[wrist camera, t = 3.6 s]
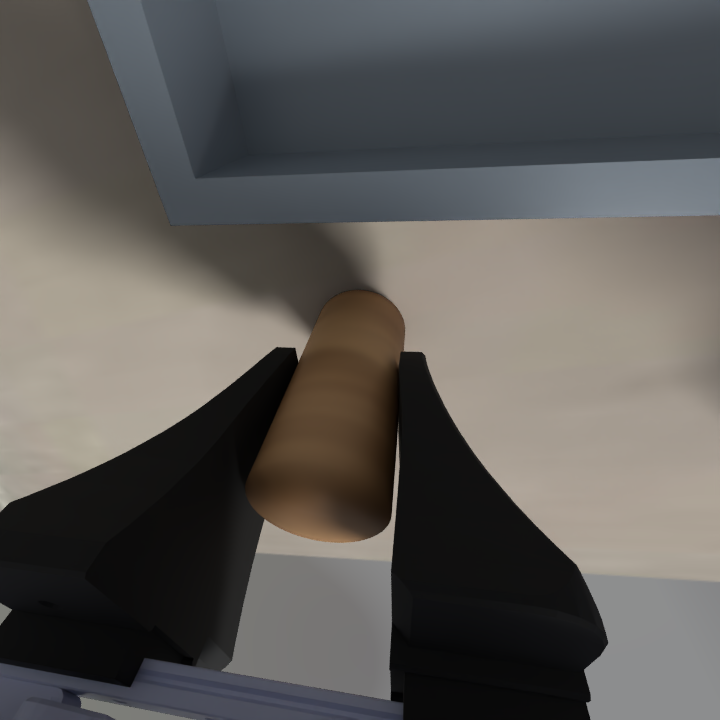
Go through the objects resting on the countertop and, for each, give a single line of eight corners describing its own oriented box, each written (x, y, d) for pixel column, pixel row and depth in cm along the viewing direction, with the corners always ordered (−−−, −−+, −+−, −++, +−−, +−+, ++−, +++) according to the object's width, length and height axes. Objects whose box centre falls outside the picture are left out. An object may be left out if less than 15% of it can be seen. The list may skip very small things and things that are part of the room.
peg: (404, 365, 14) (392, 549, 9) (324, 362, 14) (263, 534, 9) (405, 290, 12) (390, 465, 7) (312, 289, 12) (227, 452, 7)
